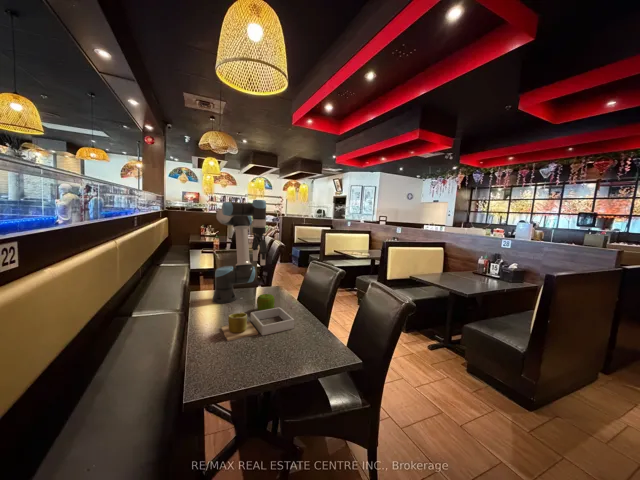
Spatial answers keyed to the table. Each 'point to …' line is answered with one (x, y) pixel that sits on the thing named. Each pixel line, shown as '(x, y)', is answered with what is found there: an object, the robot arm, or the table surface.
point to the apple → (265, 302)
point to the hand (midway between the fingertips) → (258, 262)
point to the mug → (237, 322)
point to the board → (232, 336)
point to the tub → (272, 327)
